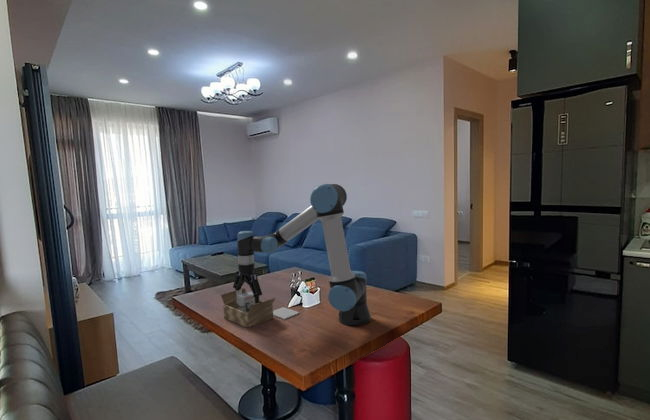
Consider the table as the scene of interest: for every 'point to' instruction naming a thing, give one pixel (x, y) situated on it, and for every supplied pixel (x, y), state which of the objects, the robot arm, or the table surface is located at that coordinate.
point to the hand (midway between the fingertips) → (247, 306)
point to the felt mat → (284, 313)
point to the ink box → (245, 301)
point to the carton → (254, 315)
